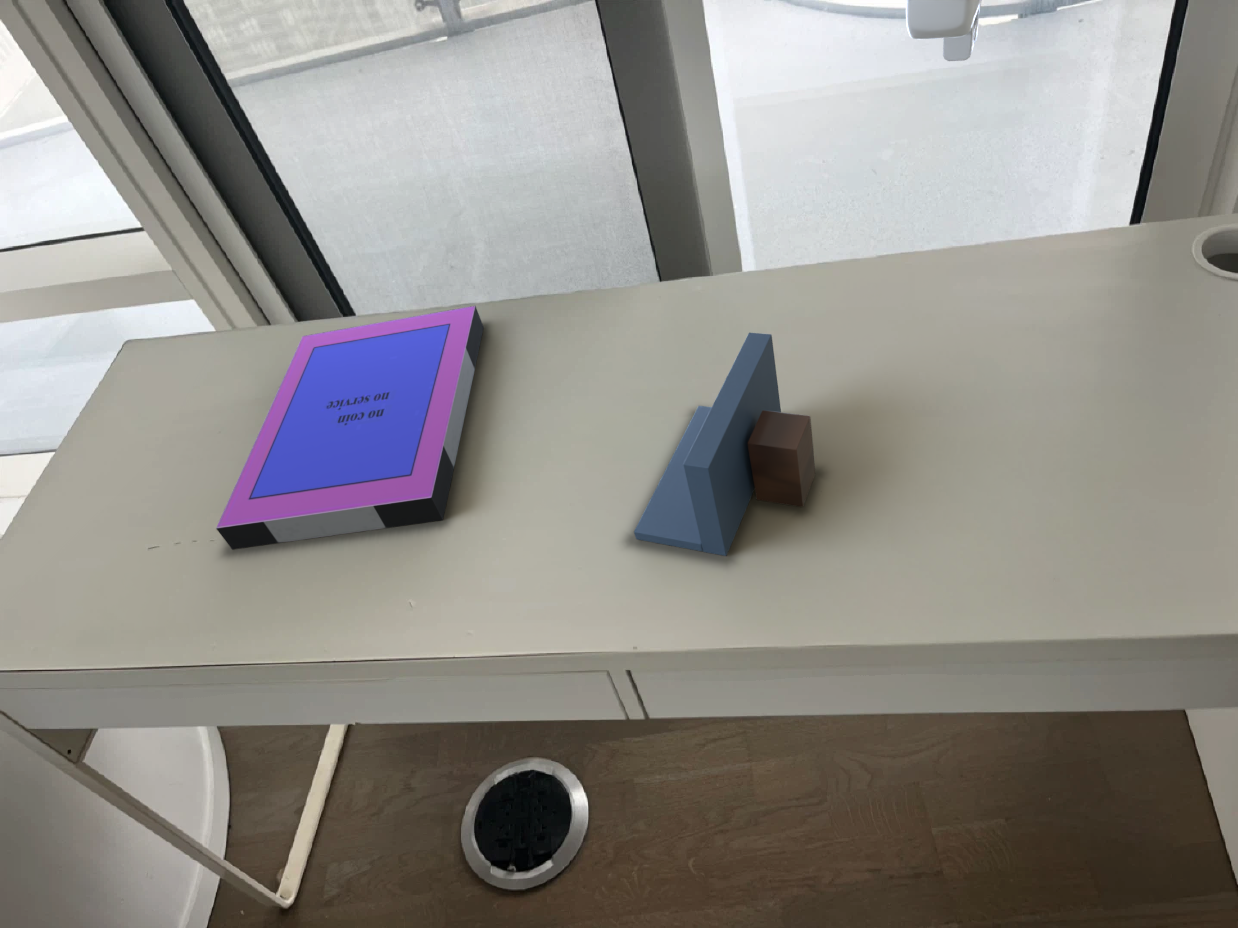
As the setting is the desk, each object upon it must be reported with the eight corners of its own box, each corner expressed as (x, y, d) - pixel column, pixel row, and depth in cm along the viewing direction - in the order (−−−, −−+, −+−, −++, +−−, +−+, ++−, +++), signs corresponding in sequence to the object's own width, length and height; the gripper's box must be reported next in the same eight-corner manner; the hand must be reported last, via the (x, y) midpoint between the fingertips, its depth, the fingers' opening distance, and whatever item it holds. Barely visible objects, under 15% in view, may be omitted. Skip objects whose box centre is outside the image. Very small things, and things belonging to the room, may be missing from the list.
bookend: (782, 422, 83) (771, 333, 76) (726, 556, 73) (708, 468, 66) (700, 413, 86) (682, 326, 79) (635, 539, 76) (609, 453, 70)
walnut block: (794, 485, 79) (853, 450, 74) (781, 519, 77) (840, 485, 71) (729, 434, 78) (783, 394, 72) (714, 466, 76) (769, 428, 70)
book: (475, 305, 103) (431, 497, 81) (483, 327, 105) (442, 520, 83) (302, 335, 106) (216, 528, 84) (313, 356, 108) (232, 549, 86)
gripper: (1005, -146, 45) (987, 122, 55) (1047, -240, 58) (1027, -9, 67) (876, -129, 48) (880, 124, 57) (943, -222, 60) (937, -2, 70)
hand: (960, 51), depth 62 cm, fingers closed
